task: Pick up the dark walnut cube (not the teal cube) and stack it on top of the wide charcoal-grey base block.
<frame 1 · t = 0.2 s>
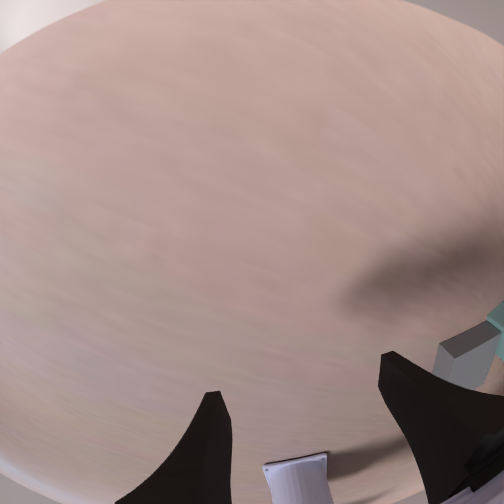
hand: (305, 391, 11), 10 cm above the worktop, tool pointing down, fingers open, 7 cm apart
base block: (457, 359, 25), on the worktop
teal cube: (497, 319, 24), on the worktop
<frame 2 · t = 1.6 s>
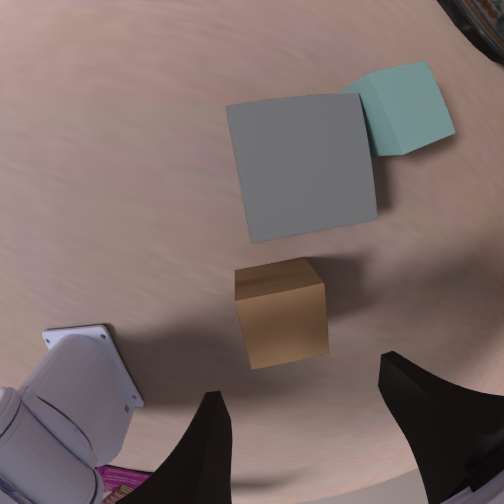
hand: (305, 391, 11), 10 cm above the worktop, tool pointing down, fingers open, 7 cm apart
base block: (297, 164, 18), on the worktop
candy bar box: (133, 474, 28), on the worktop
teal cube: (379, 115, 18), on the worktop
walnut cube: (275, 294, 21), on the worktop
beer stein: (482, 16, 14), on the worktop
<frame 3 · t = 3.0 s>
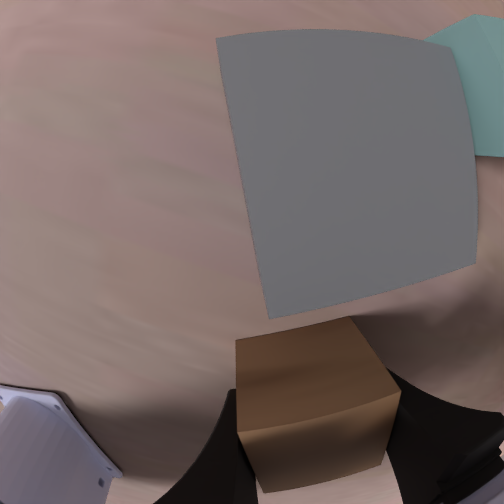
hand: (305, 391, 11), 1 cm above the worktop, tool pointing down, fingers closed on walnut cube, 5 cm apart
base block: (346, 160, 10), on the worktop
teal cube: (457, 93, 9), on the worktop
walnut cube: (299, 371, 12), on the worktop, touching gripper
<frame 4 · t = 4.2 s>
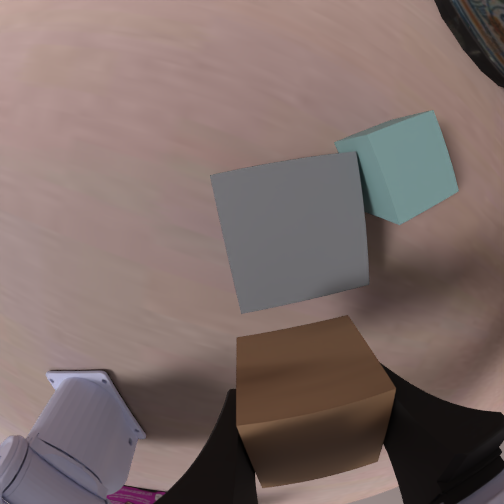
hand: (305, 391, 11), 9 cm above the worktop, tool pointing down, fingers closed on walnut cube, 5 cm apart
base block: (288, 224, 18), on the worktop
candy bar box: (137, 491, 28), on the worktop
teal cube: (377, 163, 17), on the worktop
walnut cube: (298, 369, 13), point 7 cm above the worktop, touching gripper
beer stein: (490, 35, 14), on the worktop
when the fingers open (6 cm above the worktop, at t = 5.6 s): walnut cube stays where it is, resting on base block.
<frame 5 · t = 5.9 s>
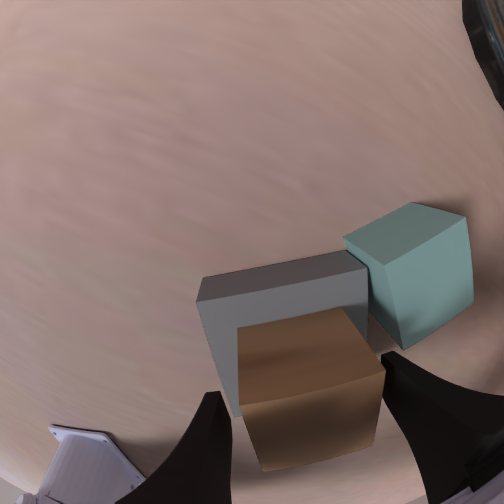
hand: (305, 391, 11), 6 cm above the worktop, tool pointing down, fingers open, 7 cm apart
base block: (285, 326, 16), on the worktop
teal cube: (389, 255, 16), on the worktop
walnut cube: (295, 358, 14), point 3 cm above the worktop, touching base block
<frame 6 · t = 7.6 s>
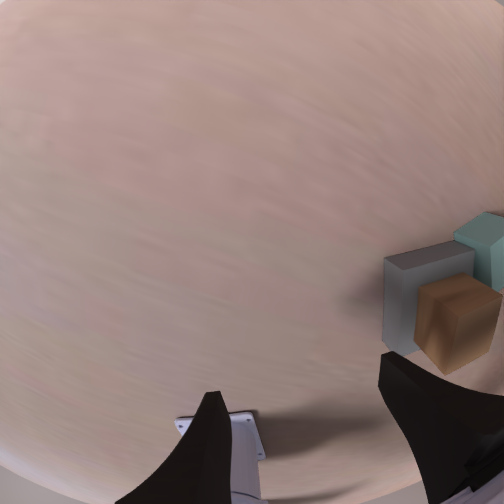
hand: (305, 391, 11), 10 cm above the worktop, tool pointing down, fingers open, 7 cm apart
base block: (420, 291, 22), on the worktop
teal cube: (472, 244, 21), on the worktop
walnut cube: (439, 306, 19), point 3 cm above the worktop, touching base block
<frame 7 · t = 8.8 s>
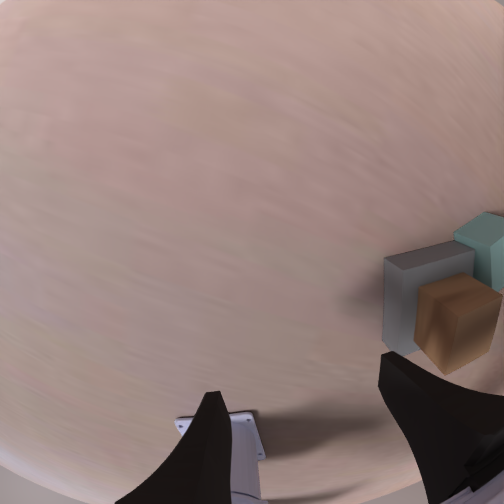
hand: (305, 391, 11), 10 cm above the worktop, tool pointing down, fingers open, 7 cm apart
base block: (420, 291, 22), on the worktop
teal cube: (472, 244, 21), on the worktop
walnut cube: (439, 306, 19), point 3 cm above the worktop, touching base block
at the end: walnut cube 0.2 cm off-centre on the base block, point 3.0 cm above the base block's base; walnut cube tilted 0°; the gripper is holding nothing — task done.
